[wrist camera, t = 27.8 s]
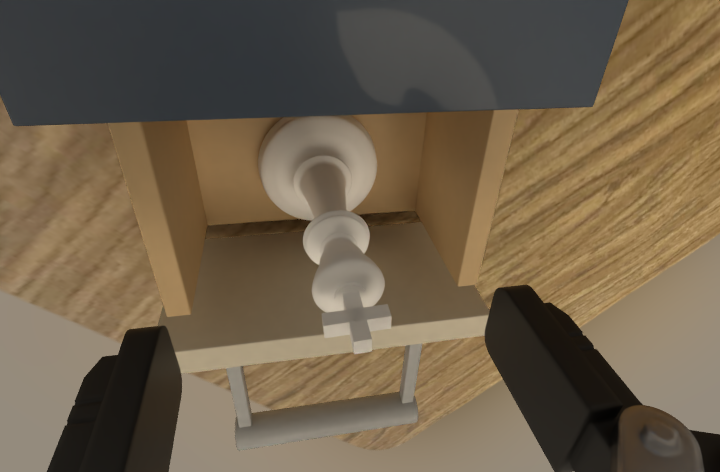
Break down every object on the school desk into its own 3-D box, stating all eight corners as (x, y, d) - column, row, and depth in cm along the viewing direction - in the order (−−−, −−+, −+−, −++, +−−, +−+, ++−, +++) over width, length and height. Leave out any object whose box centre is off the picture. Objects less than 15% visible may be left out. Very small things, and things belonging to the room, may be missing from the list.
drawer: (417, 340, 28) (456, 442, 22) (211, 365, 26) (197, 486, 20) (485, -108, 15) (618, -133, 9) (87, -131, 13) (-46, -181, 7)
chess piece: (249, 111, 17) (237, 280, 8) (375, 101, 17) (476, 250, 9) (266, 220, 19) (270, 424, 11) (375, 208, 20) (451, 393, 12)
